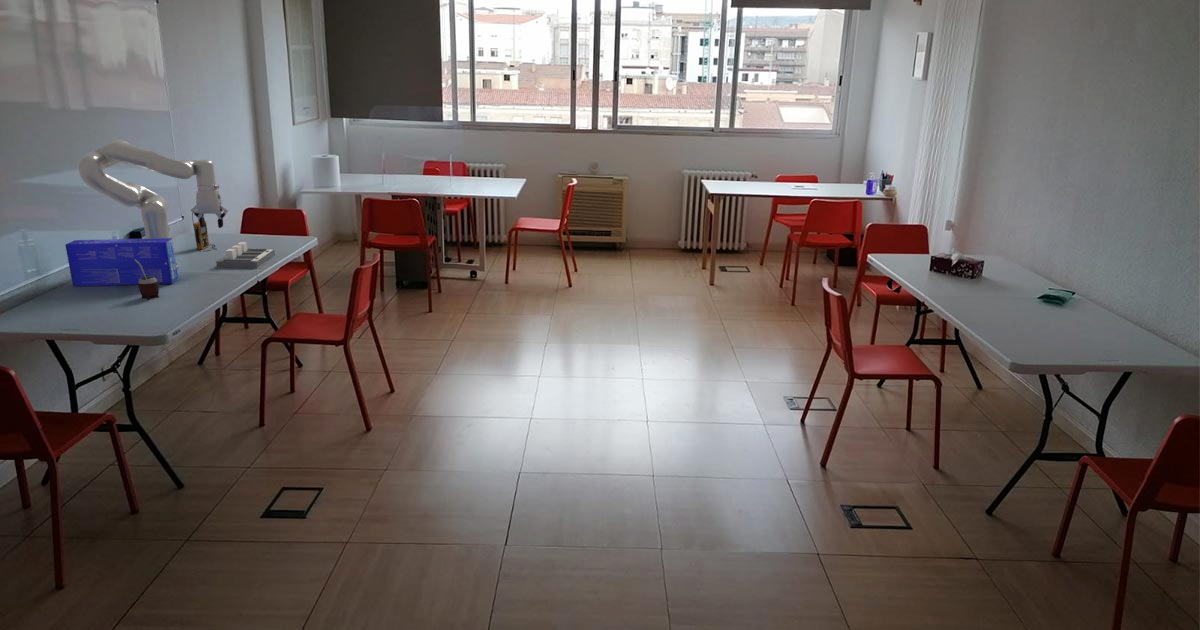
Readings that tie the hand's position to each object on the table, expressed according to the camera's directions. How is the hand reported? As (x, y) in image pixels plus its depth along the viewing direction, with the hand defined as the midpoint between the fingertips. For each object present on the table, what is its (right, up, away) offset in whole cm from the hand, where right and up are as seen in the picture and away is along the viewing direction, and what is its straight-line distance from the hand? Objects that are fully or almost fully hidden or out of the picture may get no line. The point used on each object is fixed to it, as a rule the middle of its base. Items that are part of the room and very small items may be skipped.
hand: (211, 226), depth 368 cm
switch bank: (+10, -15, +13) cm, 22 cm away
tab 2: (+6, -10, +18) cm, 21 cm away
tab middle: (+6, -12, +11) cm, 18 cm away
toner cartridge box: (-24, -27, -25) cm, 44 cm away
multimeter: (-18, -7, +36) cm, 41 cm away
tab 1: (+7, -14, +5) cm, 16 cm away
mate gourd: (-4, -33, -44) cm, 55 cm away
